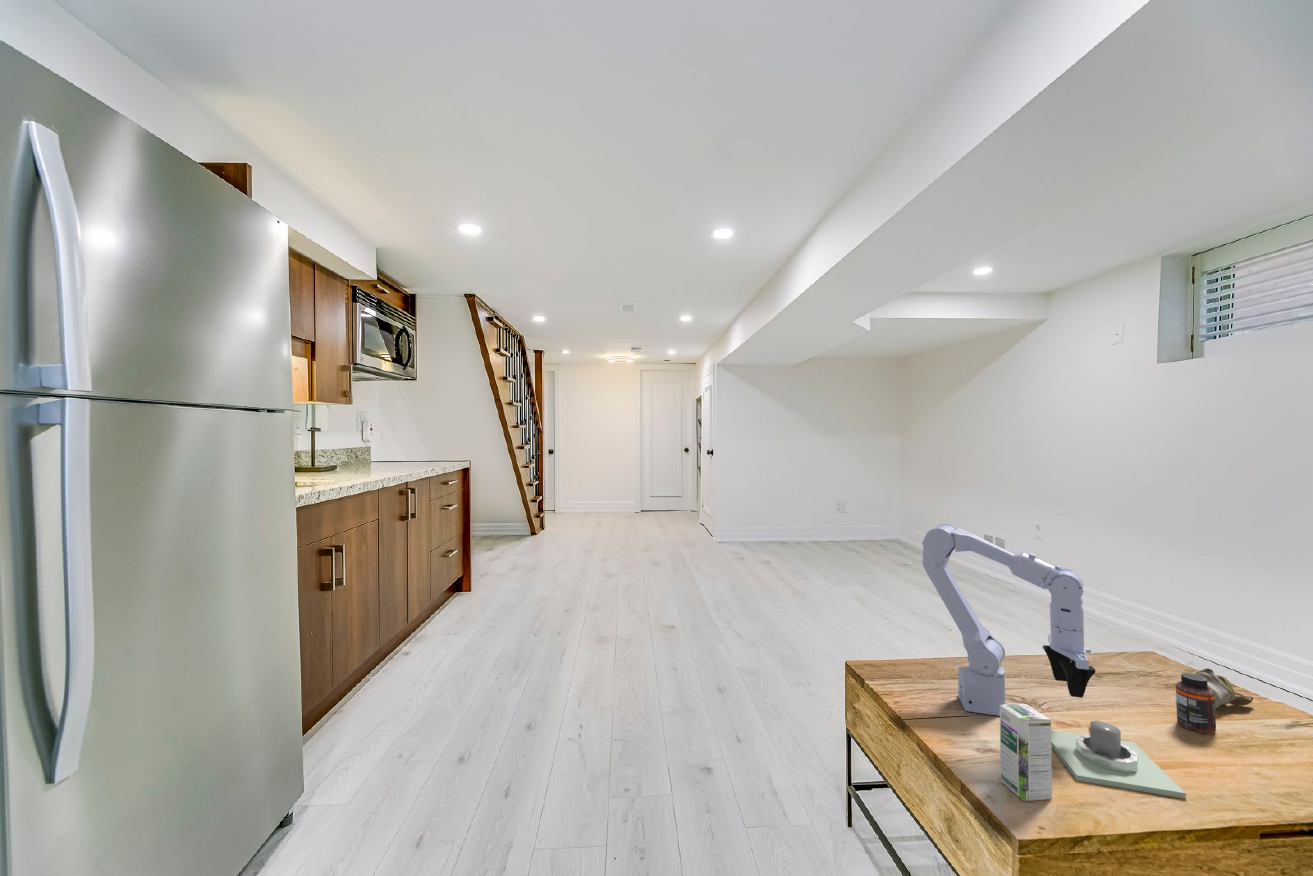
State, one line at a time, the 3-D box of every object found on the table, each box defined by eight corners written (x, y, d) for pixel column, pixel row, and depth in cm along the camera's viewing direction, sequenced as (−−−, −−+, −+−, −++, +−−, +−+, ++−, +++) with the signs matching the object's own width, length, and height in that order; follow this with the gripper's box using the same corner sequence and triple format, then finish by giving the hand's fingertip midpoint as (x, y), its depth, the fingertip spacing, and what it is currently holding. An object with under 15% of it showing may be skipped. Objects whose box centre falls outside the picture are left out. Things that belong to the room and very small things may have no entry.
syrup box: (998, 781, 94) (997, 703, 95) (1028, 778, 95) (1026, 702, 95) (1023, 802, 89) (1021, 720, 89) (1054, 800, 89) (1052, 718, 89)
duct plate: (1076, 780, 94) (1076, 775, 94) (1042, 733, 109) (1042, 729, 109) (1185, 799, 89) (1185, 793, 89) (1133, 747, 104) (1133, 742, 104)
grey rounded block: (1126, 766, 96) (1125, 735, 96) (1095, 762, 98) (1095, 731, 98) (1113, 752, 101) (1112, 723, 101) (1084, 748, 102) (1083, 719, 102)
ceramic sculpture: (1164, 663, 124) (1196, 656, 129) (1163, 698, 123) (1195, 690, 129) (1225, 682, 114) (1258, 674, 119) (1224, 721, 113) (1257, 711, 119)
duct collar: (1090, 767, 96) (1089, 757, 96) (1068, 741, 105) (1068, 731, 105) (1149, 776, 94) (1148, 766, 94) (1122, 749, 102) (1122, 739, 102)
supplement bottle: (1206, 723, 112) (1205, 673, 113) (1222, 738, 107) (1221, 684, 107) (1171, 718, 115) (1169, 668, 115) (1185, 731, 110) (1183, 679, 110)
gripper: (1106, 640, 102) (1108, 707, 102) (1073, 617, 116) (1074, 676, 116) (1064, 636, 105) (1066, 702, 105) (1037, 614, 118) (1038, 672, 118)
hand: (1068, 688), depth 110 cm, fingers open, 7 cm apart
